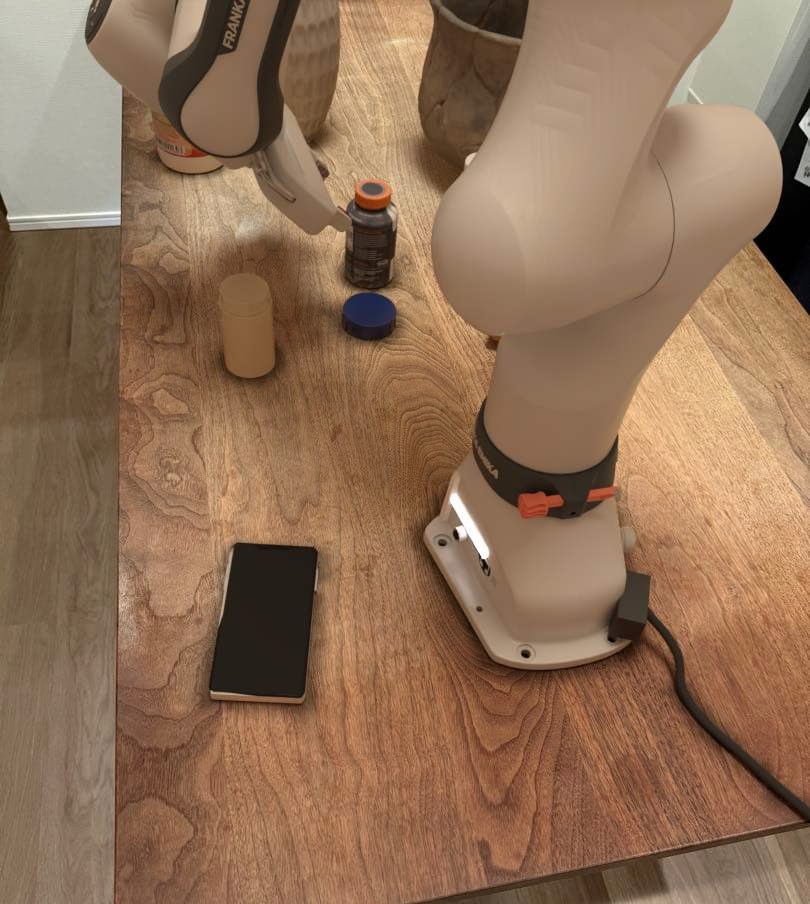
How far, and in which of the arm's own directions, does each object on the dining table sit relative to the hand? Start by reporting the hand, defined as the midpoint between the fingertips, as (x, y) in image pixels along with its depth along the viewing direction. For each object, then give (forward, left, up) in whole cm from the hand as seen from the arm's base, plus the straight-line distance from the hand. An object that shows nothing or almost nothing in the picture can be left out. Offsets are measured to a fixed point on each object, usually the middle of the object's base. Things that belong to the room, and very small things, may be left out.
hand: (334, 199), depth 96 cm
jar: (-13, +12, -10) cm, 20 cm away
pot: (+22, -27, -11) cm, 37 cm away
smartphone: (-46, +15, -11) cm, 49 cm away
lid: (-8, -2, -9) cm, 13 cm away
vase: (+32, 0, -11) cm, 34 cm away
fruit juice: (+28, +14, -11) cm, 33 cm away
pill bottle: (0, -4, -11) cm, 11 cm away
